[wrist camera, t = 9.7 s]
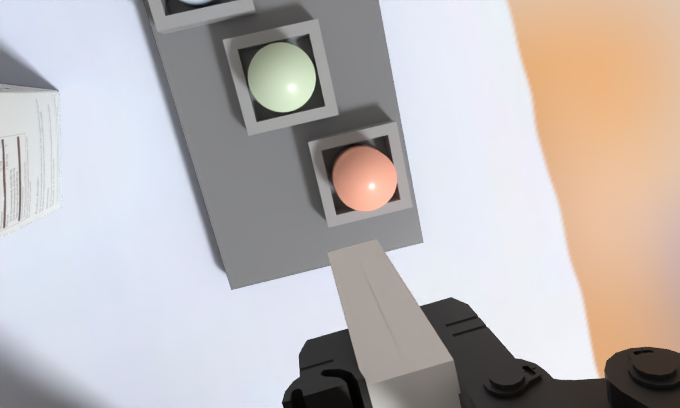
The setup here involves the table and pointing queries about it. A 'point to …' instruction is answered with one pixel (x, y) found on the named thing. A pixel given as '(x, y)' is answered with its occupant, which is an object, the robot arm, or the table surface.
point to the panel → (284, 129)
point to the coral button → (363, 177)
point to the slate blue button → (198, 2)
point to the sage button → (281, 77)
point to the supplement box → (28, 155)
